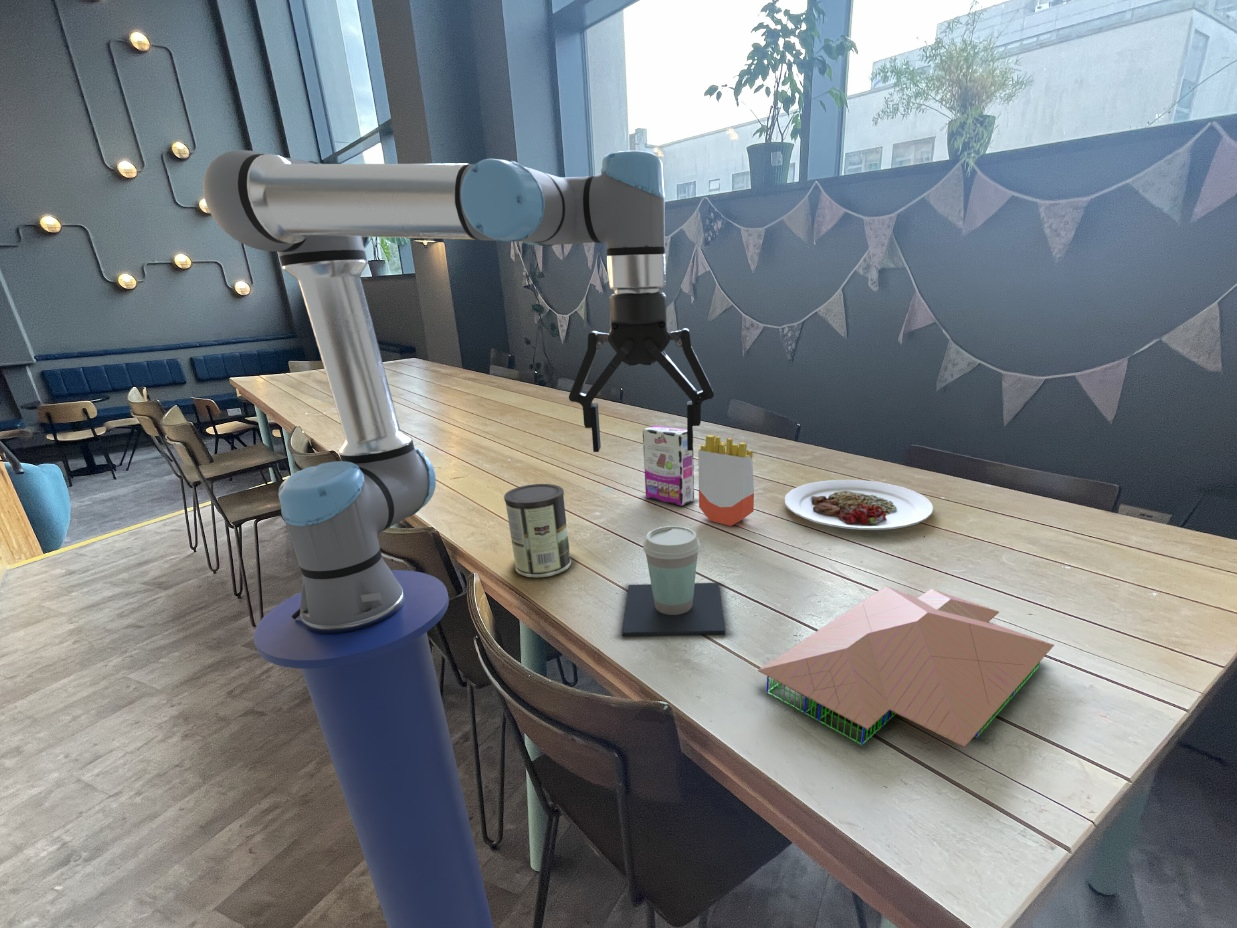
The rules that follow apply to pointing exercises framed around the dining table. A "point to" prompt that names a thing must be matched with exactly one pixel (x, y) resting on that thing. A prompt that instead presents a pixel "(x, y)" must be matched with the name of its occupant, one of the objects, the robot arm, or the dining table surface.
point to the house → (910, 664)
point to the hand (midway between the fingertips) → (643, 449)
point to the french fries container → (725, 481)
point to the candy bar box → (668, 465)
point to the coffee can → (538, 529)
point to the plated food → (858, 504)
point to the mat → (652, 622)
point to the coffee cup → (672, 567)
